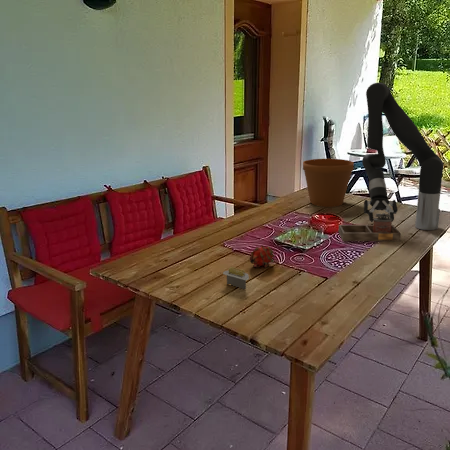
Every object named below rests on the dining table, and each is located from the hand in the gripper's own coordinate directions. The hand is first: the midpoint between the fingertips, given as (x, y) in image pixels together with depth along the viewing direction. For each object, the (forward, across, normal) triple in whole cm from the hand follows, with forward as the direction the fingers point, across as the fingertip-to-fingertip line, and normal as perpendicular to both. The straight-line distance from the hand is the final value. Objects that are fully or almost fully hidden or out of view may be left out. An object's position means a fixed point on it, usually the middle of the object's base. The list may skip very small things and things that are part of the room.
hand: (382, 221), depth 202 cm
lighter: (+5, 0, +4) cm, 6 cm away
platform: (+44, -62, -34) cm, 83 cm away
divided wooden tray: (+6, -6, +4) cm, 9 cm away
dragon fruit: (+31, -53, -21) cm, 65 cm away
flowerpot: (-38, -16, +48) cm, 63 cm away
